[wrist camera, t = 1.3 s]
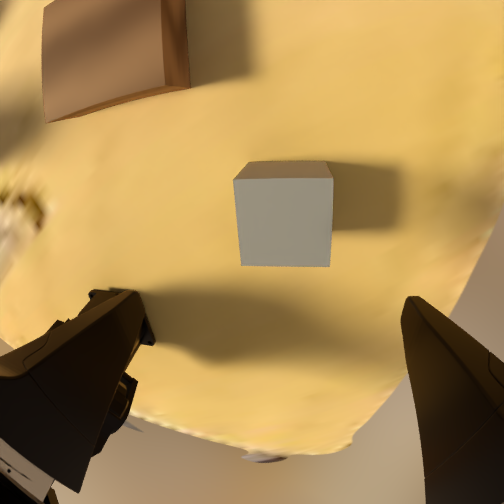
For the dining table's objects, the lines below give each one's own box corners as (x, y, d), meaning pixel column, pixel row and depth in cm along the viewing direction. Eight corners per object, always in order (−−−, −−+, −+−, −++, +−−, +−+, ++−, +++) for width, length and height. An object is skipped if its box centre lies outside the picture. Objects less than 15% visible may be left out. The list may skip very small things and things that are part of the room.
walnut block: (190, 88, 17) (165, 85, 13) (79, 116, 18) (45, 123, 15) (184, -30, 12) (160, -51, 8) (75, 13, 14) (44, 7, 10)
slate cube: (323, 230, 20) (329, 266, 16) (254, 230, 21) (241, 265, 17) (324, 160, 18) (333, 178, 13) (248, 161, 19) (233, 179, 14)
